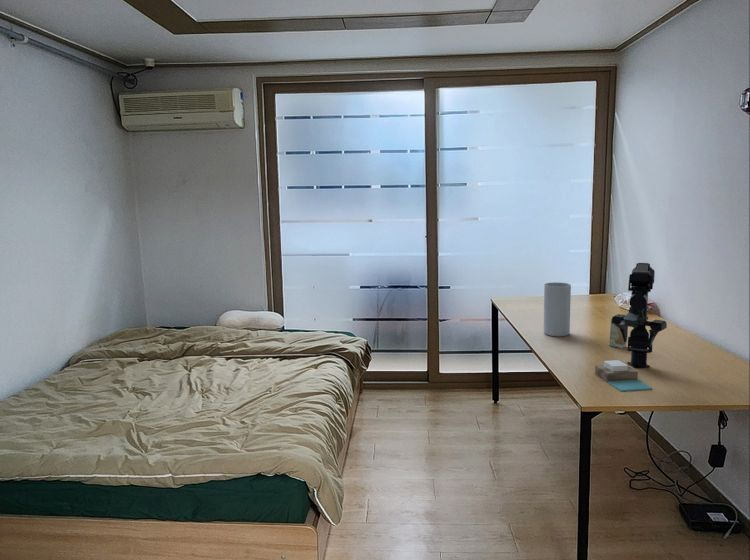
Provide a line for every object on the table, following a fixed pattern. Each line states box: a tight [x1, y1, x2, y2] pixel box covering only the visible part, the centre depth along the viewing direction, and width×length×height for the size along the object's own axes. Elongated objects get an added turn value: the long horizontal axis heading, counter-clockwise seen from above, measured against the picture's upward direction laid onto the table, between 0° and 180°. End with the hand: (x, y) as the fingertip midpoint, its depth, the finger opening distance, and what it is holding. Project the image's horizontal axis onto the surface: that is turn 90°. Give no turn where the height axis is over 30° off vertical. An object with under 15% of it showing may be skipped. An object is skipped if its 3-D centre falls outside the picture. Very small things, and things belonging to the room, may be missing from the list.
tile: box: [603, 359, 629, 371], centre depth 228 cm, size 7×6×2 cm
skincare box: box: [609, 322, 627, 349], centre depth 269 cm, size 6×4×12 cm
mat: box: [607, 379, 653, 392], centre depth 218 cm, size 10×12×1 cm
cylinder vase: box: [543, 281, 572, 338], centre depth 293 cm, size 12×12×25 cm
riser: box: [594, 364, 639, 383], centre depth 228 cm, size 10×12×4 cm
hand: (637, 344), depth 225 cm, fingers open, 9 cm apart
